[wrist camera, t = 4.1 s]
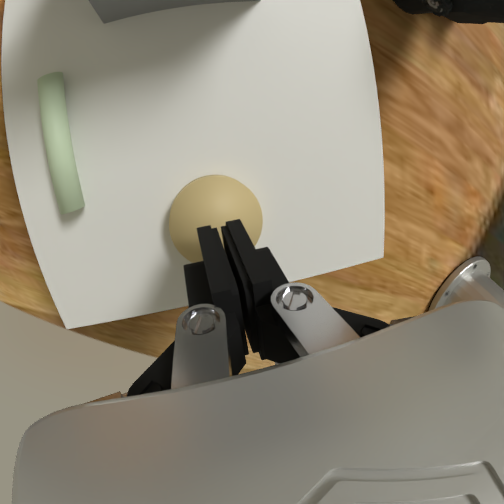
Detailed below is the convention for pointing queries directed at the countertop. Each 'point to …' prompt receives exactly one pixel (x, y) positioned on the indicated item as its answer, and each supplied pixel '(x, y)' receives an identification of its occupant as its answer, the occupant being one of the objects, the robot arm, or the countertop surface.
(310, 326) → the robot arm
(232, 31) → the leveling plate
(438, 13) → the scope
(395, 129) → the countertop surface
